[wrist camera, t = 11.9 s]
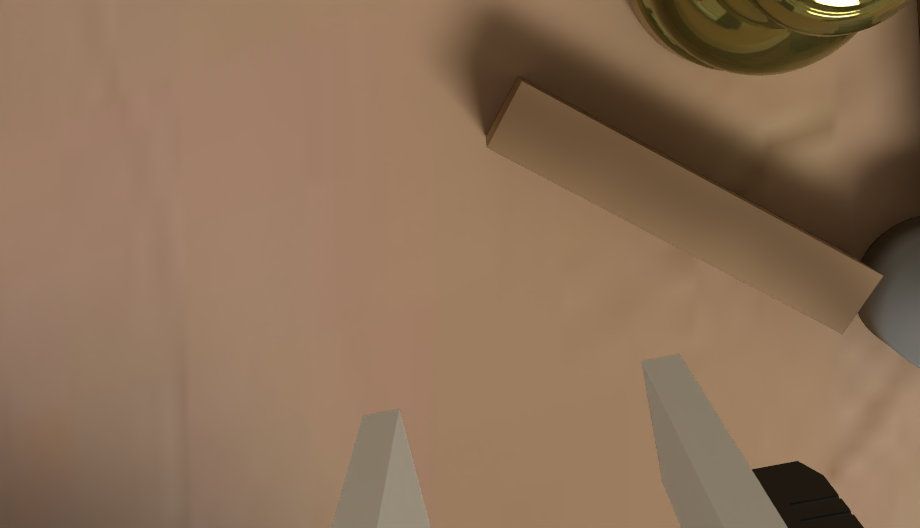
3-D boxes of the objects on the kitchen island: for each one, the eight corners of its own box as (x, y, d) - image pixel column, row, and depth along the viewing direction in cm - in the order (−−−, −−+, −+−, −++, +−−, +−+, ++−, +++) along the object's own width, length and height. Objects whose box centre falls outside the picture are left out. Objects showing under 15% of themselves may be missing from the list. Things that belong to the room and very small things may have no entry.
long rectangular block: (814, 310, 31) (842, 334, 29) (485, 137, 30) (486, 147, 27) (851, 255, 31) (883, 275, 28) (518, 76, 29) (522, 81, 27)
